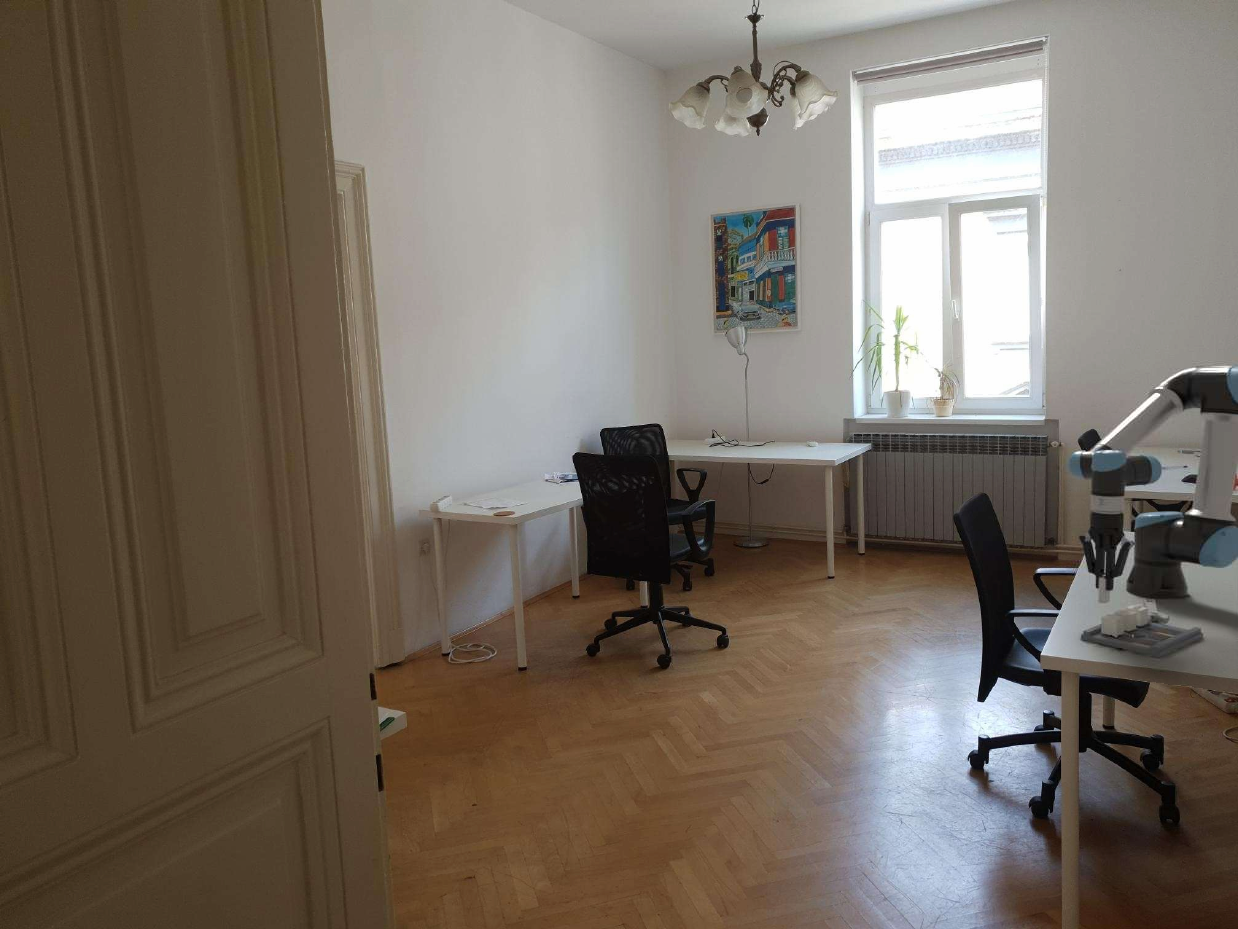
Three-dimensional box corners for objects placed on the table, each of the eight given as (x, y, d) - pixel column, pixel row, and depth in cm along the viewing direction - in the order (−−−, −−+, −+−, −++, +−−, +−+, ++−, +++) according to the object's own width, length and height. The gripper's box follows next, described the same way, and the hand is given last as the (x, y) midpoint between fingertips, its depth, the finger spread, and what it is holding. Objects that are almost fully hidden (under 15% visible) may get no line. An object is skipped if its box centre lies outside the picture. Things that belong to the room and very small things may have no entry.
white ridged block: (1108, 630, 219) (1109, 611, 218) (1123, 633, 216) (1124, 615, 215) (1101, 633, 217) (1101, 614, 216) (1116, 636, 214) (1116, 617, 213)
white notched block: (1132, 620, 226) (1133, 602, 225) (1147, 623, 223) (1148, 605, 222) (1125, 623, 224) (1126, 605, 223) (1140, 626, 221) (1141, 608, 220)
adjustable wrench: (1142, 603, 246) (1143, 597, 245) (1170, 606, 242) (1170, 600, 242) (1138, 622, 224) (1139, 615, 224) (1168, 626, 221) (1169, 619, 221)
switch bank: (1125, 621, 230) (1126, 613, 230) (1203, 637, 215) (1203, 628, 215) (1080, 639, 218) (1081, 630, 218) (1159, 657, 203) (1159, 648, 203)
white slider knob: (1120, 625, 222) (1121, 607, 222) (1136, 628, 219) (1136, 610, 219) (1113, 628, 220) (1114, 610, 220) (1128, 631, 217) (1129, 613, 217)
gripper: (1073, 510, 230) (1071, 599, 232) (1126, 516, 219) (1122, 610, 222) (1089, 506, 234) (1086, 594, 237) (1141, 512, 223) (1137, 604, 226)
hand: (1103, 601), depth 229 cm, fingers closed
